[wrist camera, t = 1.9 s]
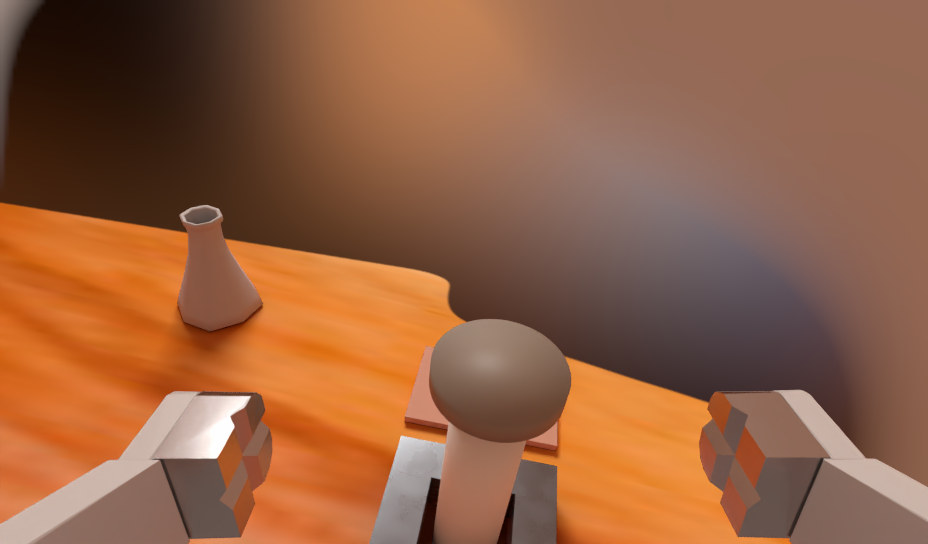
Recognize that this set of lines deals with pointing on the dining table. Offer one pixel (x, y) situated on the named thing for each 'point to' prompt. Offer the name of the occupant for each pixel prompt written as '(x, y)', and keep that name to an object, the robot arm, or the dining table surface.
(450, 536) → the peg
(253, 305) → the flask
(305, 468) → the dining table surface
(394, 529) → the eye block
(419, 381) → the pad
